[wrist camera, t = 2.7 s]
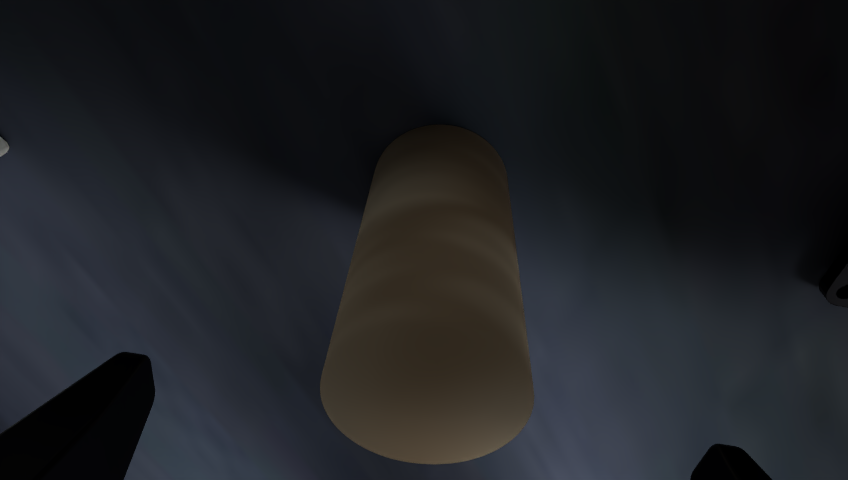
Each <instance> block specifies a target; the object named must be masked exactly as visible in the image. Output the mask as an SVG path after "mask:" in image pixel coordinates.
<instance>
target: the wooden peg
mask: <svg viewBox="0 0 848 480" xmlns="http://www.w3.org/2000/svg"><path fill="white" fill-rule="evenodd" d="M320 394H321V399H322V403H323V406H324V408H325V411H326V413H327V414H328V416H329V418H330V419H331V421H332V422H333V423H334V424H335V426H336V427H337V428H338V429H339V430H340V431H341V432H342V433H343V434H344V435H346V436H347V437H348V438H350V439H351V440H352V441H354V442H355V443H357V444H359V445H360V446H362V447H364V448H366V449H368V450H370V451H372V452H374V453H377V454H379V455H382V456H385V457H388V458H392V459H395V460H399V461H405V462H410V463H419V464H449V463H457V462H463V461H467V460H472V459H475V458H478V457H481V456H484V455H486V454H489V453H491V452H493V451H495V450H497V449H499V448H501V447H502V446H504V445H506V444H507V443H508V442H510V441H511V440H512V439H513V438H514V437H515V436H516V435H518V434H519V433H520V431H521V430H522V429H523V427H524V426H525V425H526V423H527V421H528V419H529V418H530V415H531V412H532V409H533V404H534V390H533V382H532V374H531V365H530V357H529V349H528V341H527V333H526V325H525V317H524V309H523V301H522V293H521V284H520V276H519V268H518V260H517V252H516V244H515V236H514V228H513V220H512V212H511V204H510V195H509V187H508V179H507V173H506V169H505V166H504V164H503V161H502V159H501V158H500V156H499V154H498V153H497V151H496V150H495V149H494V148H493V147H492V146H491V145H490V144H489V143H488V142H487V141H486V140H485V139H483V138H482V137H480V136H479V135H477V134H475V133H473V132H471V131H469V130H467V129H464V128H461V127H457V126H452V125H428V126H423V127H419V128H415V129H413V130H410V131H408V132H406V133H404V134H402V135H401V136H399V137H398V138H396V139H395V140H394V141H393V142H392V143H391V144H390V145H389V146H388V147H387V148H386V149H385V150H384V152H383V153H382V155H381V156H380V158H379V160H378V162H377V165H376V168H375V172H374V176H373V179H372V183H371V187H370V191H369V195H368V199H367V203H366V206H365V210H364V214H363V218H362V222H361V226H360V230H359V233H358V237H357V241H356V245H355V249H354V253H353V257H352V260H351V264H350V268H349V272H348V276H347V280H346V284H345V288H344V291H343V295H342V299H341V303H340V307H339V311H338V315H337V318H336V322H335V326H334V330H333V334H332V338H331V342H330V345H329V349H328V353H327V357H326V361H325V365H324V369H323V372H322V377H321V382H320Z"/></svg>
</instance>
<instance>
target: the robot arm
mask: <svg viewBox="0 0 848 480" xmlns="http://www.w3.org/2000/svg"><path fill="white" fill-rule="evenodd" d="M845 285H846V286H845ZM842 286H845V287H844V288H841V287H842ZM839 288H841V289H839ZM819 290H820V291H821V293H822V294H823V295H824V297H825V298H826V299H827V300H828V301H829V303H830V304H833V305H836V306H842V307H848V243H847V244H846V246H845V247H844V248H843V250H842V251H841V253H840V254H839V256H838V257H837V258H836V260H835V261H834V263H833V264H832V265H831V267H830V268H829V270H828V271H827V272H826V274H825V275H824V277H823V278H822V279H821V282H820V284H819ZM154 397H155V386H154V380H153V373H152V367H151V361H150V359H149V357H148V356H146V355H142V354H136V353H130V352H121V353H119V354H116V355H115V356H113V357H112V358H110V359H109V360H107V361H106V362H105V363H103V364H102V365H100V366H99V367H97V368H96V369H94V370H93V371H91V372H90V373H88V374H87V375H86V376H84V377H83V378H81V379H80V380H78V381H77V382H75V383H74V384H72V385H71V386H69V387H68V388H66V389H65V390H64V391H62V392H61V393H59V394H58V395H56V396H55V397H53V398H52V399H50V400H49V401H47V402H46V403H45V404H43V405H42V406H40V407H39V408H37V409H36V410H34V411H33V412H31V413H30V414H28V415H27V416H26V417H24V418H23V419H21V420H20V421H18V422H17V423H15V424H14V425H12V426H11V427H9V428H8V429H6V430H5V431H4V432H2V433H1V434H0V480H124V477H125V475H126V472H127V470H128V467H129V465H130V462H131V459H132V457H133V454H134V452H135V449H136V446H137V444H138V441H139V439H140V436H141V434H142V431H143V428H144V426H145V423H146V421H147V418H148V415H149V413H150V410H151V408H152V405H153V402H154ZM690 480H772V479H771V478H770V477H769V476H768V475H767V474H766V473H765V472H764V471H763V469H762V468H761V467H760V466H759V465H758V464H757V463H756V462H755V461H754V460H753V459H752V458H751V457H750V456H749V455H748V454H747V453H746V452H745V451H744V450H743V449H741V448H739V447H736V446H730V445H724V444H714V445H712V446H711V447H710V448H709V449H708V451H707V452H706V454H705V455H704V456H703V458H702V459H701V460H700V462H699V463H698V465H697V466H696V467H695V469H694V470H693V472H692V475H691V479H690Z"/></svg>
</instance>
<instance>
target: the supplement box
mask: <svg viewBox="0 0 848 480" xmlns="http://www.w3.org/2000/svg"><path fill="white" fill-rule="evenodd" d="M8 150H9V145H8V143H7V142H6V141H5V140H3V139H2V138H1V137H0V157H1V156H2V155H4V154H5V153H7V151H8Z"/></svg>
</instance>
